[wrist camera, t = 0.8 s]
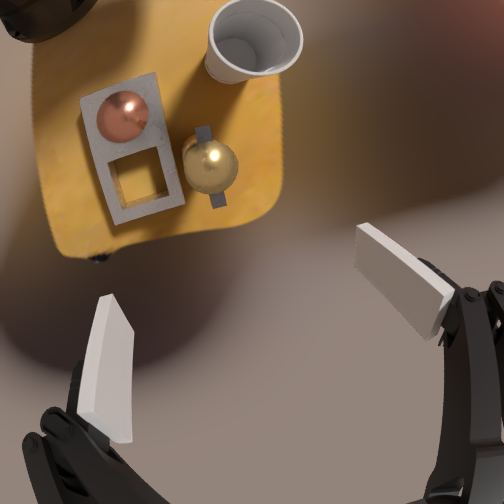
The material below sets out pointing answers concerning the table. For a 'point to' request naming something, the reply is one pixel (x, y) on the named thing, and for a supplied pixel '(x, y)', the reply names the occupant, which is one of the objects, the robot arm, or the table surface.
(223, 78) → the cup
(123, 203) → the plate with copper dome
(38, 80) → the table surface
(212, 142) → the brass cylinder with tabs
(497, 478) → the robot arm
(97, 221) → the table surface
